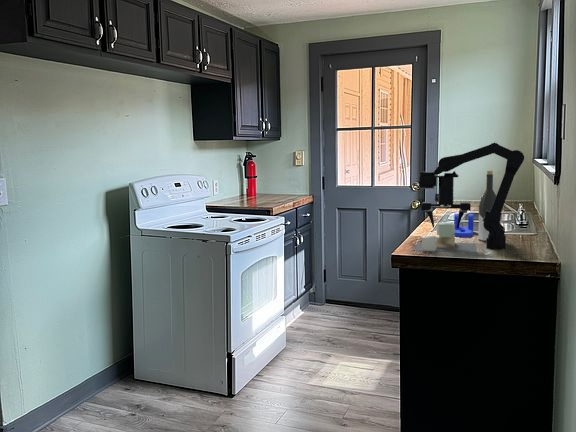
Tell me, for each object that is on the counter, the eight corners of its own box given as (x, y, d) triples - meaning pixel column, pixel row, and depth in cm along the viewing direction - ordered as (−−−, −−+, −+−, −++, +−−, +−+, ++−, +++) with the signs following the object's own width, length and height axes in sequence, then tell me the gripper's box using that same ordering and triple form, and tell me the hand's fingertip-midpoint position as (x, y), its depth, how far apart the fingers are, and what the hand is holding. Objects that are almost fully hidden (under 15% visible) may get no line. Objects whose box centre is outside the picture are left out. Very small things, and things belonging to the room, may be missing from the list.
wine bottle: (500, 244, 224) (502, 171, 220) (479, 244, 226) (481, 171, 222) (497, 241, 232) (498, 170, 228) (477, 240, 233) (478, 170, 230)
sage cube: (452, 235, 220) (452, 222, 219) (452, 237, 215) (452, 224, 214) (439, 234, 221) (439, 222, 221) (439, 237, 216) (439, 224, 216)
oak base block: (454, 244, 221) (454, 234, 221) (454, 247, 214) (454, 237, 214) (436, 244, 223) (436, 234, 223) (436, 247, 216) (436, 237, 216)
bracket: (455, 231, 261) (455, 212, 260) (473, 231, 258) (473, 212, 257) (452, 237, 245) (452, 217, 244) (471, 238, 242) (471, 217, 241)
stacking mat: (475, 245, 223) (475, 223, 221) (477, 255, 204) (477, 231, 203) (417, 244, 229) (417, 223, 228) (413, 253, 210) (413, 230, 209)
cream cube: (436, 248, 214) (436, 235, 213) (435, 250, 209) (435, 238, 209) (422, 248, 216) (422, 235, 215) (422, 250, 211) (422, 237, 210)
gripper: (470, 187, 221) (469, 225, 223) (422, 187, 226) (422, 224, 228) (471, 189, 210) (470, 229, 212) (421, 189, 216) (420, 228, 218)
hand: (445, 227), depth 218 cm, fingers open, 9 cm apart
